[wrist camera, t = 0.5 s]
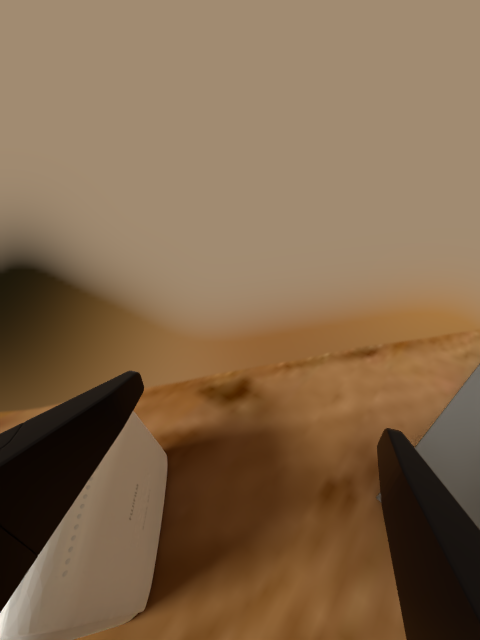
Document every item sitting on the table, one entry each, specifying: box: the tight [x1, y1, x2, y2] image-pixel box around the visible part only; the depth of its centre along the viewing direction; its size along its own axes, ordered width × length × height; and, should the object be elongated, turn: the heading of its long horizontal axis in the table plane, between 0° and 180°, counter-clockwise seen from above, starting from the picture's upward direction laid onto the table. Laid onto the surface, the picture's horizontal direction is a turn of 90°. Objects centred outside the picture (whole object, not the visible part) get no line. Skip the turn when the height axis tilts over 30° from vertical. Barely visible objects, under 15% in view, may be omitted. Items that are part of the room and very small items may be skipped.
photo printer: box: [0, 411, 168, 640], centre depth 15 cm, size 10×4×12 cm, turn 4°
